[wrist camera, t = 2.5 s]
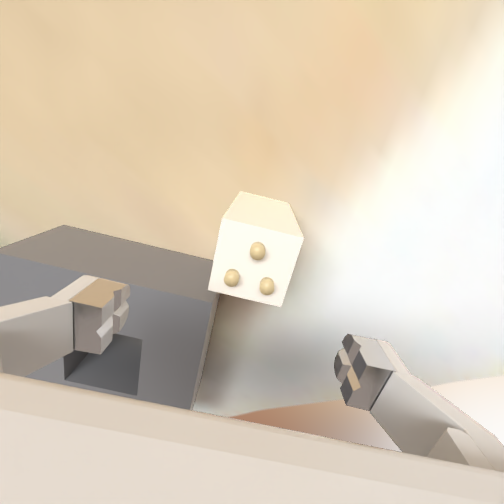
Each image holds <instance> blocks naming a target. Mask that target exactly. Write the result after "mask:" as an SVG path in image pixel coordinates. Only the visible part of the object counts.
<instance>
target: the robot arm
mask: <svg viewBox="0 0 504 504" xmlns="http://www.w3.org/2000/svg"><path fill="white" fill-rule="evenodd" d="M129 296H130V286H129V285H128V284H123V283H119V282H115V281H111V280H107V279H103V278H99V277H94V276H90V275H83V276H81V277H80V278H78V279H77V280H75V281H74V282H73V283H71V284H70V285H68V286H67V287H65V288H64V289H62V290H61V291H59V292H58V293H56V294H55V295H53V296H52V297H47V296H45V297H40V298H36V299H32V300H27V301H23V302H19V303H14V304H10V305H6V306H1V307H0V504H504V446H503V445H502V443H501V442H500V441H499V440H498V439H497V437H496V436H495V435H493V434H492V433H491V432H489V431H488V430H487V429H485V428H484V427H483V426H481V425H480V424H478V423H477V422H476V421H475V420H473V419H472V418H471V417H469V416H468V415H467V414H465V413H464V412H463V411H461V410H460V409H459V408H458V407H456V406H455V405H453V404H452V403H451V402H450V401H448V400H447V399H446V398H444V397H443V396H441V395H440V394H439V393H438V392H436V391H435V390H434V389H432V388H431V387H430V386H428V385H427V384H426V383H424V382H423V381H422V380H420V379H419V378H418V377H416V376H412V374H411V373H410V372H409V370H408V369H407V367H406V366H405V364H404V363H403V361H402V360H401V358H400V357H399V356H398V354H397V353H396V351H395V350H394V348H393V347H392V345H391V344H390V343H388V342H387V341H382V340H377V339H370V338H365V337H361V336H356V335H351V334H347V335H346V336H345V337H344V340H343V342H342V343H343V346H344V348H343V349H341V350H340V351H338V353H337V355H336V358H335V363H334V369H335V374H336V377H337V379H338V380H339V381H340V382H341V383H342V386H341V388H340V389H341V392H342V395H343V398H344V401H345V403H346V405H347V406H351V407H356V408H359V409H363V410H368V411H370V413H371V414H372V416H373V417H374V418H375V419H376V421H377V422H378V423H379V424H380V425H381V427H382V428H383V429H384V430H385V432H386V433H387V434H388V435H389V436H390V438H391V439H392V440H393V441H394V443H395V444H396V445H397V446H398V447H399V448H400V450H401V451H402V452H398V451H393V450H388V449H383V448H378V447H373V446H368V445H363V444H358V443H353V442H348V441H343V440H337V439H333V438H328V437H322V436H318V435H313V434H308V433H303V432H298V431H293V430H288V429H283V428H278V427H273V426H268V425H263V424H258V423H253V422H248V421H243V420H238V419H233V418H228V417H223V416H218V415H213V414H208V413H203V412H198V411H192V410H187V409H182V408H177V407H172V406H167V405H162V404H157V403H152V402H147V401H142V400H137V399H132V398H127V397H122V396H117V395H112V394H107V393H102V392H97V391H92V390H87V389H82V388H77V387H72V386H67V385H62V384H57V383H51V382H46V381H41V380H36V379H31V378H26V377H25V376H27V375H29V374H31V373H33V372H34V371H36V370H38V369H40V368H42V367H44V366H46V365H48V364H50V363H52V362H54V361H56V360H58V359H59V358H61V357H63V356H65V355H67V354H69V353H71V352H73V350H77V351H83V352H89V353H94V354H100V355H101V354H102V352H103V351H104V350H105V349H106V347H107V346H108V345H109V344H110V342H111V341H112V334H115V333H117V332H119V331H120V330H121V329H122V327H123V326H124V324H125V322H126V320H127V317H128V313H129V305H128V303H127V302H126V299H127V298H128V297H129Z"/></svg>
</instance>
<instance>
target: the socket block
mask: <svg viewBox="0 0 504 504" xmlns="http://www.w3.org/2000/svg"><path fill="white" fill-rule="evenodd" d="M212 266H213V260H208V259H204V258H200V257H196V256H192V255H188V254H183V253H179V252H175V251H171V250H167V249H162V248H158V247H154V246H150V245H146V244H141V243H137V242H133V241H129V240H125V239H121V238H116V237H112V236H108V235H104V234H100V233H95V232H91V231H87V230H83V229H79V228H75V227H70V226H66V225H62V226H60V227H57V228H54V229H51V230H49V231H46V232H43V233H40V234H37V235H35V236H32V237H29V238H26V239H24V240H21V241H18V242H15V243H12V244H10V245H7V246H4V247H1V248H0V307H1V306H6V305H10V304H14V303H19V302H23V301H27V300H32V299H36V298H40V297H45V296H47V297H52V296H53V295H55V294H56V293H58V292H59V291H61V290H62V289H64V288H65V287H67V286H68V285H70V284H71V283H73V282H74V281H75V280H77V279H78V278H80V277H81V276H83V275H90V276H94V277H99V278H103V279H107V280H111V281H115V282H119V283H123V284H128V285H129V286H130V296H129V297H128V298H127V299H126V302H127V303H128V305H129V313H128V317H127V320H126V322H125V324H124V326H123V327H122V329H121V330H120V331H119V332H117V333H115V334H112V341H111V342H110V344H109V345H108V346H107V347H106V349H105V350H104V351H103V352H102V354H101V355H100V354H94V353H89V352H83V351H77V350H73V352H71V353H69V354H67V355H65V356H63V357H61V358H59V359H58V360H56V361H54V362H52V363H50V364H48V365H46V366H44V367H42V368H40V369H38V370H36V371H34V372H33V373H31V374H29V375H27V376H25V377H26V378H31V379H36V380H41V381H46V382H51V383H57V384H62V385H67V386H72V387H77V388H82V389H87V390H92V391H97V392H102V393H107V394H112V395H117V396H122V397H127V398H132V399H137V400H142V401H147V402H152V403H157V404H162V405H167V406H172V407H177V408H182V409H187V410H192V409H193V406H194V402H195V399H196V395H197V392H198V388H199V385H200V382H201V377H202V373H203V368H204V364H205V359H206V355H207V350H208V346H209V341H210V337H211V332H212V327H213V323H214V318H215V314H216V309H217V305H218V300H219V296H220V293H218V292H214V291H210V290H208V286H209V281H210V276H211V271H212Z"/></svg>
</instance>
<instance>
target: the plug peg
mask: <svg viewBox="0 0 504 504" xmlns="http://www.w3.org/2000/svg"><path fill="white" fill-rule="evenodd" d="M303 240H304V237H303V234H302V232H301V230H300V228H299V225H298V223H297V221H296V218H295V216H294V214H293V212H292V209H291V207H290V205H289V203H287V202H283V201H279V200H275V199H271V198H267V197H263V196H259V195H255V194H251V193H247V192H243V191H240V192H239V194H238V195H237V197H236V198H235V200H234V201H233V203H232V204H231V205H230V207H229V208H228V210H227V211H226V213H225V214H224V216H223V217H222V221H221V226H220V231H219V236H218V241H217V246H216V251H215V256H214V261H213V266H212V271H211V276H210V281H209V286H208V290H210V291H214V292H218V293H222V294H227V295H231V296H235V297H239V298H244V299H248V300H252V301H256V302H261V303H265V304H269V305H274V306H278V307H281V306H282V303H283V300H284V297H285V294H286V291H287V288H288V285H289V282H290V279H291V276H292V273H293V270H294V267H295V264H296V261H297V258H298V255H299V252H300V249H301V246H302V243H303Z"/></svg>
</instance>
